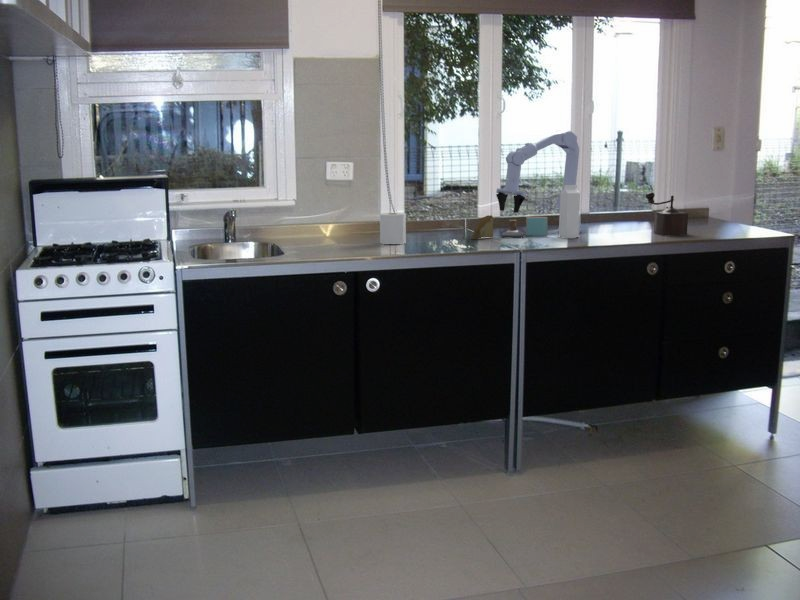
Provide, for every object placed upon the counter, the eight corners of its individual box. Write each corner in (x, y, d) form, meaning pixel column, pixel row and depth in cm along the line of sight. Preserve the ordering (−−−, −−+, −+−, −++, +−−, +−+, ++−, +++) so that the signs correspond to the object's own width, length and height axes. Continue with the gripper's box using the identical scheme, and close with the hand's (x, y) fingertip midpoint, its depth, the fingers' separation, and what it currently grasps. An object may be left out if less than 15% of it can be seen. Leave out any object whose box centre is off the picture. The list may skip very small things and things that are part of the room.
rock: (473, 235, 358) (497, 231, 359) (468, 217, 362) (492, 213, 362) (471, 247, 368) (494, 244, 369) (466, 230, 371) (489, 226, 372)
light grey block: (376, 244, 350) (375, 214, 347) (387, 241, 359) (386, 212, 357) (399, 245, 346) (398, 215, 343) (409, 242, 355) (409, 212, 353)
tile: (547, 235, 373) (547, 217, 371) (547, 236, 371) (547, 217, 369) (525, 235, 374) (526, 216, 373) (525, 236, 372) (526, 217, 371)
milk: (559, 237, 368) (560, 184, 363) (571, 236, 370) (572, 184, 365) (566, 238, 362) (567, 185, 358) (579, 237, 364) (580, 185, 360)
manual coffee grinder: (673, 232, 381) (675, 190, 378) (687, 234, 371) (690, 192, 367) (641, 233, 377) (643, 191, 374) (655, 236, 367) (657, 193, 363)
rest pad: (523, 234, 377) (523, 232, 377) (523, 238, 365) (523, 235, 365) (502, 234, 378) (502, 232, 378) (501, 237, 367) (501, 235, 366)
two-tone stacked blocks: (518, 230, 390) (518, 219, 389) (517, 234, 378) (518, 222, 377) (507, 230, 391) (507, 219, 390) (506, 234, 379) (506, 222, 378)
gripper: (493, 177, 373) (489, 209, 375) (520, 180, 363) (516, 213, 366) (503, 178, 378) (499, 209, 380) (530, 181, 369) (526, 213, 371)
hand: (508, 211), depth 373 cm, fingers open, 7 cm apart
